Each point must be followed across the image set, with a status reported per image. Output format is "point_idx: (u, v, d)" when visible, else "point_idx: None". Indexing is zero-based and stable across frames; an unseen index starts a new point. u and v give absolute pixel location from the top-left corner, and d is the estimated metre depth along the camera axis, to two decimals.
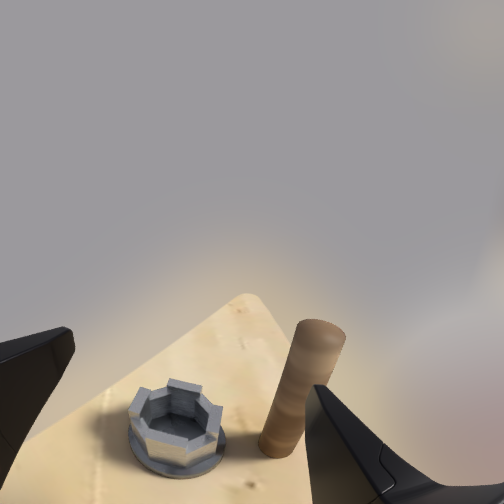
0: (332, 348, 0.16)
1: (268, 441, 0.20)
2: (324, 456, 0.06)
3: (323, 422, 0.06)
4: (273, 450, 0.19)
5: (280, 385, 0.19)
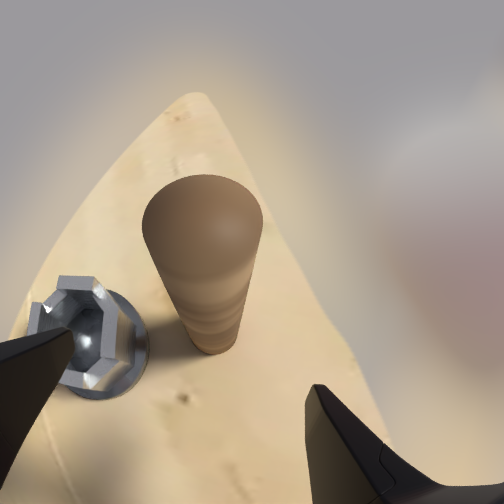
0: (215, 274, 0.07)
1: (194, 341, 0.17)
2: (324, 456, 0.06)
3: (323, 422, 0.06)
4: (204, 350, 0.18)
5: None
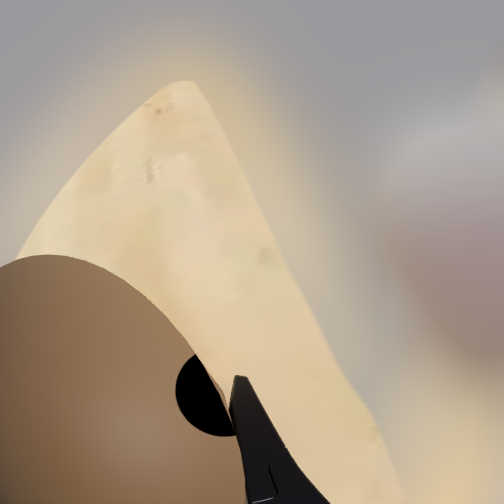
0: None
1: None
2: None
3: (231, 414, 0.06)
4: None
5: None
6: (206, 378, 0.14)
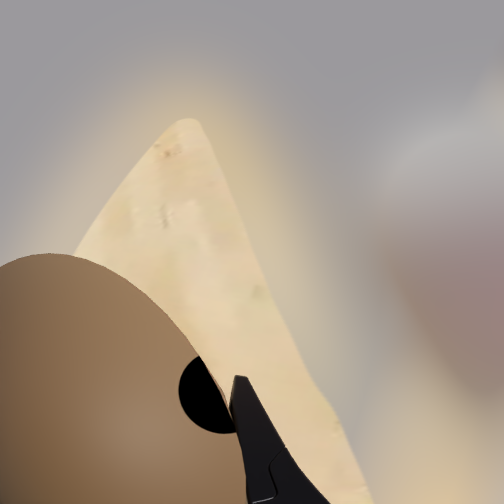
0: None
1: None
2: None
3: (231, 414, 0.06)
4: None
5: None
6: (206, 378, 0.14)
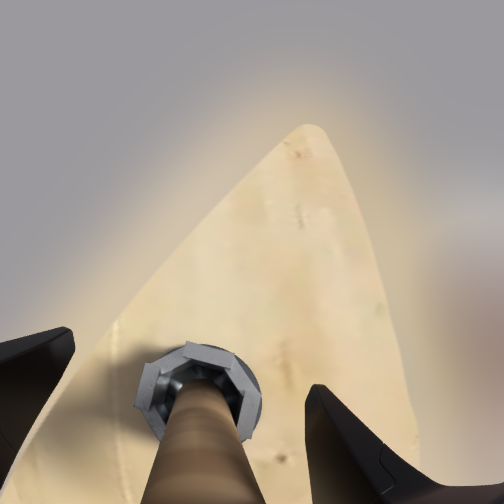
0: None
1: None
2: (324, 456, 0.06)
3: (323, 422, 0.06)
4: None
5: None
6: (211, 382, 0.18)
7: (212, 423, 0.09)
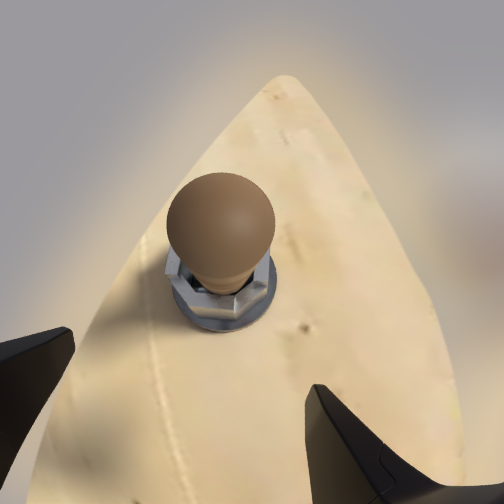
0: (241, 272, 0.09)
1: (208, 290, 0.20)
2: (324, 456, 0.06)
3: (323, 422, 0.06)
4: None
5: None
6: None
7: None
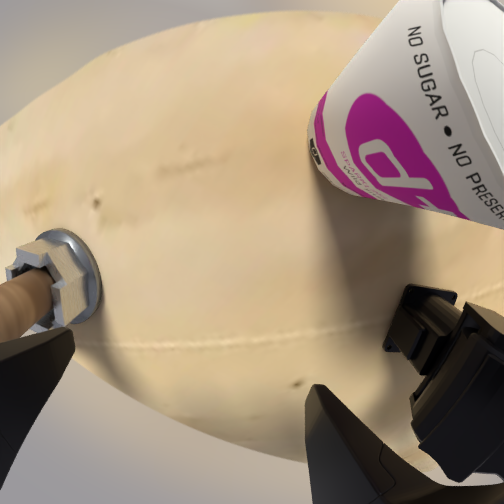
0: None
1: None
2: (324, 456, 0.06)
3: (323, 422, 0.06)
4: None
5: None
6: None
7: None
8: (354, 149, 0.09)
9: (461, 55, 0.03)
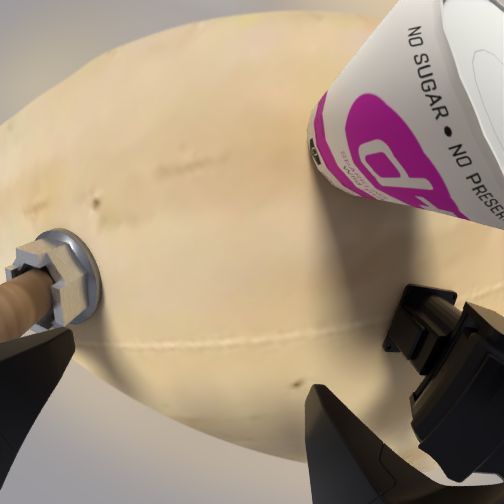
0: None
1: None
2: (324, 456, 0.06)
3: (323, 422, 0.06)
4: None
5: None
6: None
7: None
8: (354, 149, 0.09)
9: (461, 55, 0.03)
